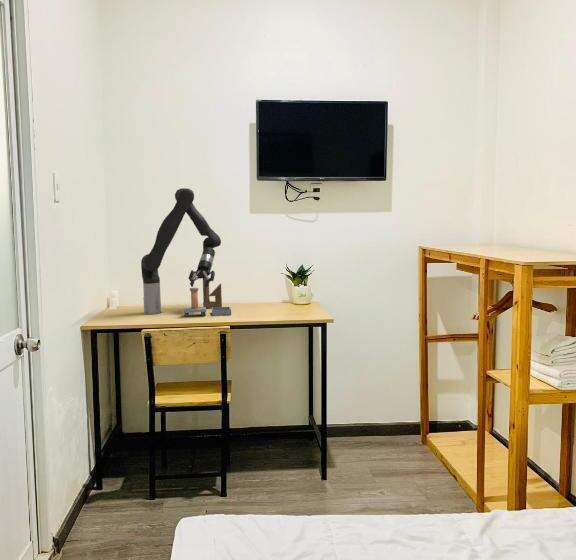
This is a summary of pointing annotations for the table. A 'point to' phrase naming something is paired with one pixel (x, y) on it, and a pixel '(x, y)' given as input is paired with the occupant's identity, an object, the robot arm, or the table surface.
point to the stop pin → (194, 298)
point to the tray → (221, 311)
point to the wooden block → (216, 293)
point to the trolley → (189, 310)
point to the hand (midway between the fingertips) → (198, 286)
